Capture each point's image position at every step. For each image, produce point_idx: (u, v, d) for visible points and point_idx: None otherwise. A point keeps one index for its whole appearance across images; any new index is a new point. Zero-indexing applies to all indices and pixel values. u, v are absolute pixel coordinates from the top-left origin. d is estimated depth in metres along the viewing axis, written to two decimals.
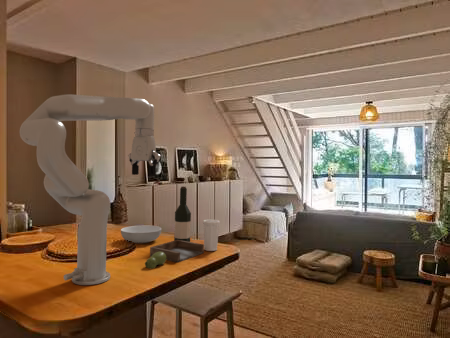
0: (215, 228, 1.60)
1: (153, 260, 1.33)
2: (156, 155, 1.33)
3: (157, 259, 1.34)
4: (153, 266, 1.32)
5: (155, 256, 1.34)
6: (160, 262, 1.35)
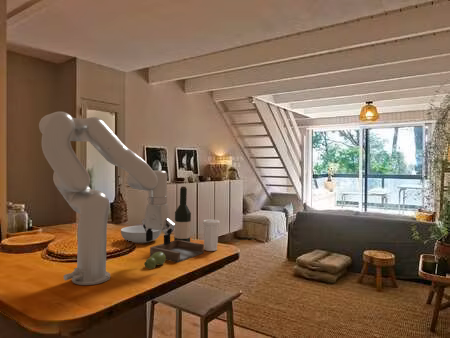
0: (215, 228, 1.60)
1: (153, 260, 1.32)
2: (171, 224, 1.31)
3: (156, 259, 1.33)
4: (152, 266, 1.32)
5: (154, 256, 1.34)
6: (159, 262, 1.34)
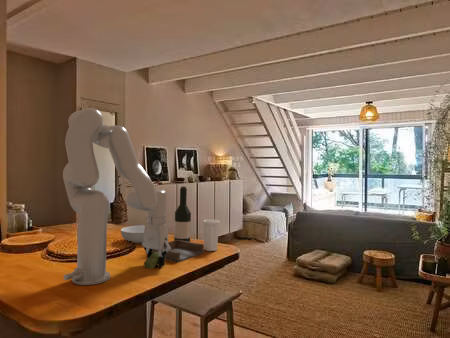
0: (215, 228, 1.60)
1: (152, 260, 1.32)
2: (167, 248, 1.32)
3: (156, 259, 1.33)
4: (152, 266, 1.32)
5: (154, 256, 1.34)
6: None
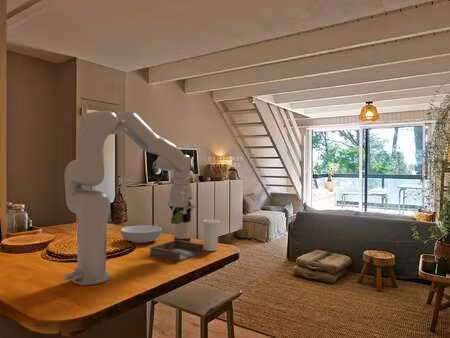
0: (215, 228, 1.60)
1: (178, 216, 1.48)
2: (191, 205, 1.48)
3: (181, 216, 1.49)
4: (178, 221, 1.47)
5: (179, 213, 1.50)
6: None
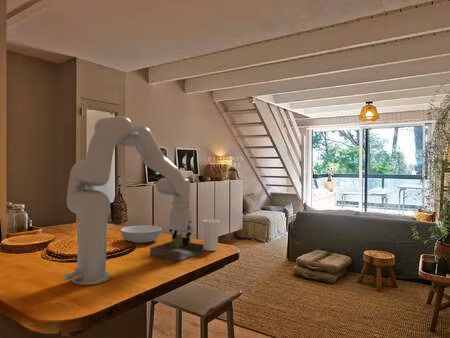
0: (215, 228, 1.60)
1: (178, 240, 1.49)
2: (191, 229, 1.48)
3: (181, 239, 1.50)
4: (178, 245, 1.48)
5: (179, 237, 1.50)
6: None
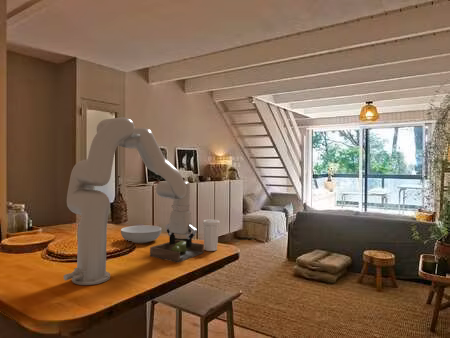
0: (215, 228, 1.60)
1: (178, 248, 1.48)
2: (193, 230, 1.48)
3: (181, 247, 1.49)
4: None
5: (179, 245, 1.50)
6: (183, 250, 1.50)
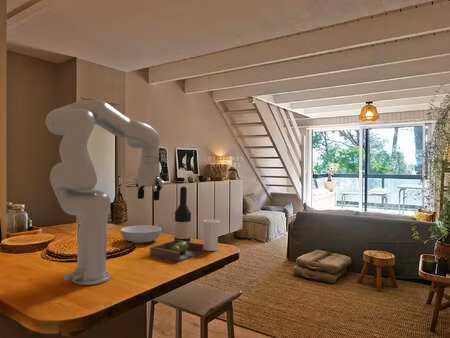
0: (215, 228, 1.60)
1: (177, 248, 1.48)
2: (160, 181, 1.44)
3: (180, 247, 1.49)
4: None
5: (179, 245, 1.50)
6: (183, 250, 1.50)
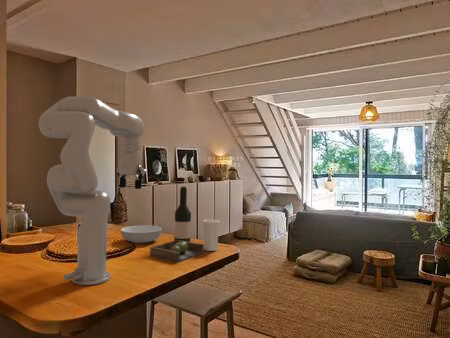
0: (215, 228, 1.60)
1: (177, 248, 1.48)
2: (141, 170, 1.43)
3: (180, 247, 1.49)
4: None
5: (178, 245, 1.50)
6: (183, 250, 1.50)
